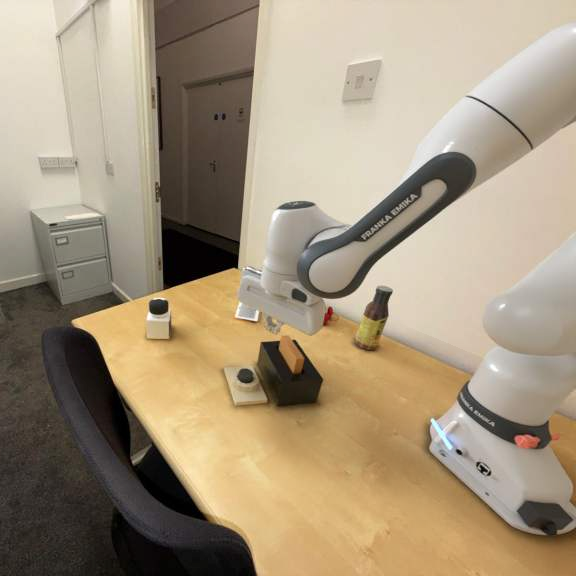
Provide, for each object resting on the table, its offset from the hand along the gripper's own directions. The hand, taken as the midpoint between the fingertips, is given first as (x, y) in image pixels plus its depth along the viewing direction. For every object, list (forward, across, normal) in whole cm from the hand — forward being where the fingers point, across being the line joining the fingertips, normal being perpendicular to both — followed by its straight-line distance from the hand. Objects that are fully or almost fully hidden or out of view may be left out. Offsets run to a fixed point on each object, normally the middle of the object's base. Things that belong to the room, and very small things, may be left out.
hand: (272, 331), depth 70 cm
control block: (+17, -3, -4) cm, 18 cm away
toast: (+15, +4, +5) cm, 16 cm away
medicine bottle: (+18, -36, -6) cm, 40 cm away
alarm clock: (+18, -6, +42) cm, 46 cm away
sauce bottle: (+17, +12, +38) cm, 44 cm away
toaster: (+17, +4, +5) cm, 18 cm away
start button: (+14, -3, -4) cm, 15 cm away
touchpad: (+18, -25, +26) cm, 40 cm away
